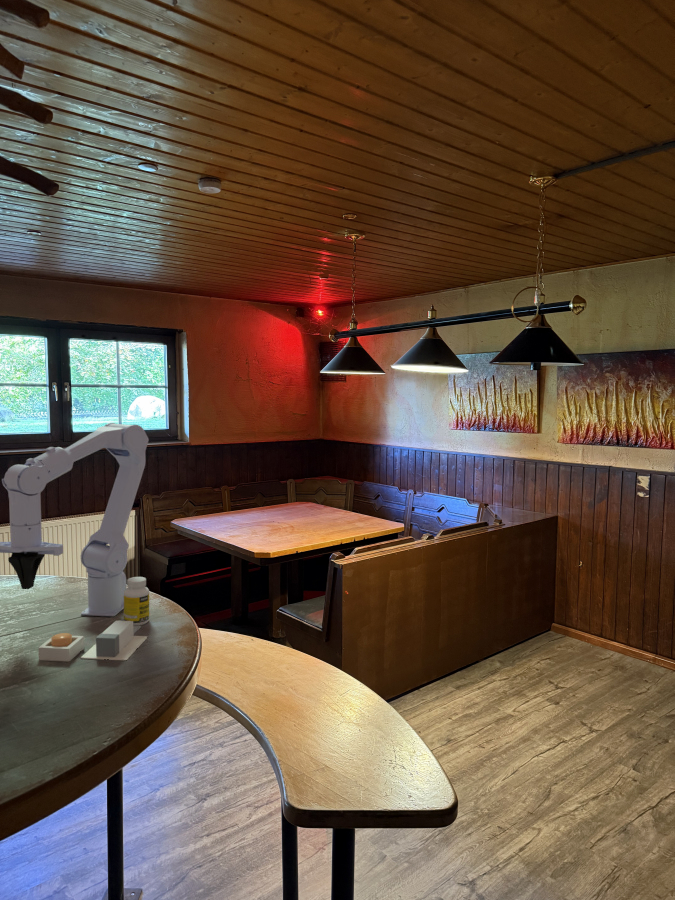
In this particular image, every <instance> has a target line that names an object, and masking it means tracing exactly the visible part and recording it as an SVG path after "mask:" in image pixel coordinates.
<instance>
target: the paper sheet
mask: <svg viewBox="0 0 675 900" xmlns="http://www.w3.org/2000/svg"><path fill="white" fill-rule="evenodd" d="M147 637H148V638H149V636H146V635H133V639H132V640H131V641H130V642H129V643H128V644H127V645H126V646H125V647H124V648H123V649H122V650H121V651H120V652H119V653H118V654H117V655H116V656H115V657H105V656H96V643H95V644H93V646H92V647H90V649H88V650H87V651H86V652H85V653H84V654H83V655H82V656H80V659H89V660H104V659H106V660H107V659H109V660H108V661H111V660H112V661H126V660H127V661H128V660H129V658H130V657H132V655H134V653H135V652H136V651H137V650H136V649H137V648H138V649H139V647H140V646H141V645H142V644H143V643H144V642H145V641H146V640H147V639H148V638H147Z"/></svg>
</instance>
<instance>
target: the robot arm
mask: <svg viewBox="0 0 675 900" xmlns="http://www.w3.org/2000/svg"><path fill="white" fill-rule="evenodd" d="M149 440H150V439H149V437H148V435H147V433H146V431H145V429H144V428H143V427H142V426H141V425H139V424H124V423H123V424H122V423H121V424H120V423H115V422H109V423H106V424H105V425H104V426H103V425H102V426H99V427H97V428H96V429H95V431H93V432H91V433H89V434H87V435H86V436H84V437H82V438H80V439H79V440H77V441H76V442H74V443H72V444H71V445H68V446H67V447H65V448H62V447H60V446H57V447H54V446H49V447H47V448H46V449H45V451H46V452H44V453H42V454H39V455H38V456H36V457H33V458H32V457H30V458H28V459H26V460H25V462H24V464H19V463H18V464H14V465H12V466H10V467H9V468H8V469H7V471H6V472H5V474H4V477H3V478H1V483H2V486H3V487H4V488H5V489H6V490H7V493H8V494H7V495H8V501H9V509H8V510H9V531H10V532H9V534H10V537H9V538H10V541H0V553H1V554H3V553H4V554H11V556H9V557H8V563H9V564H10V565H11V566H12V568H13V569H14V570H15V573H16V575H17V577H18V580H19V584H20V586H21V589H22V590H30V589H32V588H33V587H34V586H35V580H36V576H37V573H38V570H39V567H40V565H41V563H42V561H43V559H44V557H45V555H51V556H52V555H53V556H56V557H59V556H61V555H63V554H64V544H63V543H53V542H47V541H43V539H42V538H43V537H42V505H41V503H42V501H41V499H42V496H41V493H42V492H43V491H44V490H45V488H46V486H47V484H48V483H49V482H52V481H53V480H55V479H57V478H59V477H61V476H62V475H64V474H67V473H68V472H70V471H72V469H73V467H74V466H73V465H74V462H76V461H79V460H81V459H84V458H85V457H87V456H89V455H91V454H94V453H95V452H98V451H100V450H102V449H106V450H107V451H108V452H109V453H110V454H111V455H112V456H113V458H115V459H116V461H117V463H118V465H119V468H118V471H117V474H116V477H115V479H114V483H113V487H112V489H111V492H110V496H109V498H108V501H107V506H106V508H105V510H104V511H105V512H104V514H103V518H102V521H101V523H100V527H99V529H98V530H97V531H95V532H94V533H92V534H91V535H90V537H89V540H88V542H87V543H86V545H85V546H84V547H83V549H82V550H81V553H80V563H81V565H82V566H83V567H84V568H86V570H85V571H86V573H87V595H88V596H87V602H88V603H87V605H88V607H86V608H85V609H84V610H82V611H81V612H80V615H82V616H96V617H97V616H98V617H115V616H116V615H118V614H119V613H120V612H121V611H122V610H124V591H125V590H126V589H127V575H126V574H125V571H124V569H125V568H126V566H127V563H128V549H129V542H128V541H127V539H126V537H125V536H124V534H125V531H126V528H127V525H128V521H129V519H130V516H131V513H132V508H133V505H134V502H135V499H136V496H137V492H138V489H139V486H140V483H141V479H142V477H143V474H144V471H145V470H144V469H145V468H146V450H147V447H148V443H149Z"/></svg>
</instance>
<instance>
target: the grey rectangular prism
mask: <svg viewBox="0 0 675 900" xmlns="http://www.w3.org/2000/svg"><path fill="white" fill-rule="evenodd" d="M133 636H134V634H133V621H124V620H118V619H117V620H115V621H114V622H112V624H110V625H109V626H108V627H107V628H106V629H105V630H104V631H103V632H101V633H100V634H98V635H97V636H96V637H95V644H96V656H105V657H115V656H116V655H117V654H118V653H119V652H120V651H121V650H122V649H123V648H124V647H125V646H126V645H127V644H128V643H129V642H130V641H131V640H132V639H133Z"/></svg>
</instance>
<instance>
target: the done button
mask: <svg viewBox="0 0 675 900" xmlns="http://www.w3.org/2000/svg"><path fill="white" fill-rule="evenodd" d="M72 636H73V635H72V634H71V633H67V632H61V633H57V634H54V635H53V636H51V637H52V638H51V637H50V638H51V640H52V646H58V647H68V646H69V645H70V644H71V643H72Z"/></svg>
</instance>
